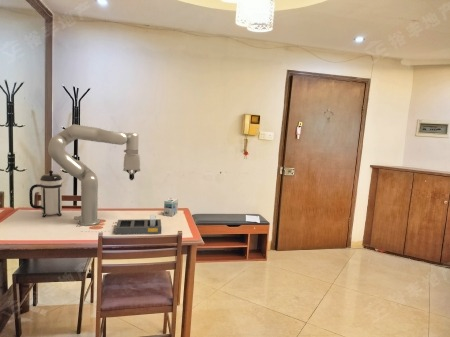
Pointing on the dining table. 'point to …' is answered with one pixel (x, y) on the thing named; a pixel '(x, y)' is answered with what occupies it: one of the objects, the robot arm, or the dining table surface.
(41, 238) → the dining table surface
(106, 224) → the dining table surface
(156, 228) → the rack
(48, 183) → the coffee press
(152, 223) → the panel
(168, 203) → the light bulb box
